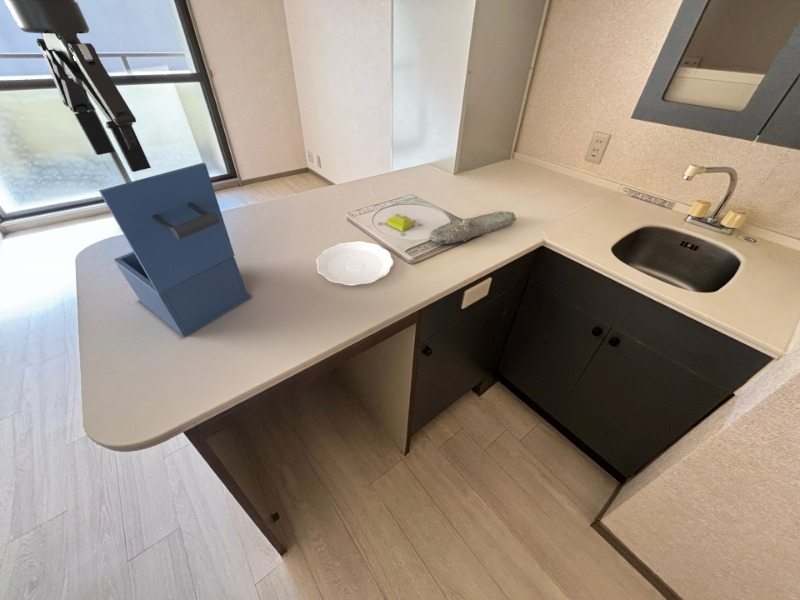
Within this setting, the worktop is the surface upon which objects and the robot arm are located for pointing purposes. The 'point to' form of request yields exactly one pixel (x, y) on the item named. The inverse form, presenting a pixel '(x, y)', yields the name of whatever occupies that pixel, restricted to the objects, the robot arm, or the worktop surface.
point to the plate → (354, 263)
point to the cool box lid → (171, 223)
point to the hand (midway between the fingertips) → (122, 161)
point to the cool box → (188, 293)
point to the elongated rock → (471, 227)
